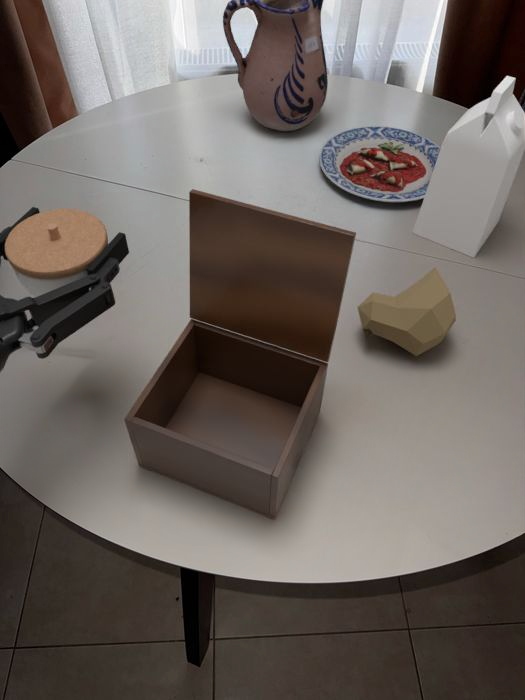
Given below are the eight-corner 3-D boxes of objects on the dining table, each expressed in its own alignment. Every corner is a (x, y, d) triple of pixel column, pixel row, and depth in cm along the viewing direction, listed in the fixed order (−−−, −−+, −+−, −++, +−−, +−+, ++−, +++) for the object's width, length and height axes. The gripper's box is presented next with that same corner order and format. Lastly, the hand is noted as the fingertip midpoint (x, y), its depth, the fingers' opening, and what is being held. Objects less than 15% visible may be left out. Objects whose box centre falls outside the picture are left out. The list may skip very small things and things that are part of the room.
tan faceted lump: (458, 324, 90) (414, 264, 90) (491, 310, 79) (440, 243, 80) (382, 379, 88) (338, 318, 89) (405, 374, 77) (354, 304, 78)
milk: (439, 199, 109) (481, 58, 89) (498, 221, 105) (556, 79, 85) (412, 232, 103) (451, 89, 83) (474, 258, 99) (530, 113, 79)
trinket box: (10, 317, 65) (-20, 254, 58) (46, 255, 72) (23, 191, 65) (102, 328, 64) (83, 265, 57) (130, 264, 71) (116, 200, 64)
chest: (275, 520, 69) (278, 478, 61) (138, 465, 73) (123, 419, 65) (320, 412, 79) (328, 363, 70) (197, 369, 83) (191, 318, 75)
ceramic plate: (411, 228, 104) (415, 215, 102) (293, 177, 113) (294, 164, 111) (470, 163, 117) (474, 150, 115) (359, 123, 127) (361, 110, 124)
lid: (354, 235, 58) (356, 232, 59) (189, 191, 63) (192, 188, 63) (327, 362, 70) (329, 358, 70) (189, 318, 74) (192, 314, 75)
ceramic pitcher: (334, 136, 123) (350, 8, 104) (238, 150, 119) (235, 19, 100) (309, 97, 134) (318, -27, 114) (219, 108, 130) (214, -18, 111)
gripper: (-132, 357, 59) (7, 230, 72) (61, 434, 53) (174, 281, 66) (-174, 306, 53) (-14, 177, 66) (38, 386, 47) (167, 228, 60)
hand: (80, 229), depth 66 cm, fingers closed on trinket box, 11 cm apart
